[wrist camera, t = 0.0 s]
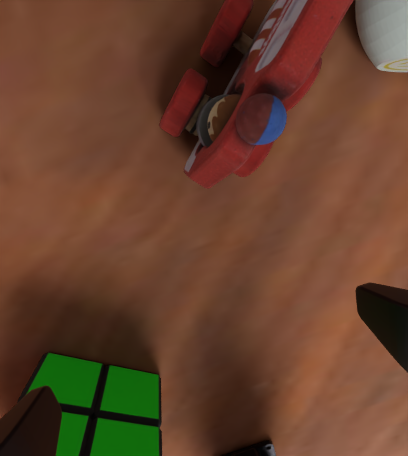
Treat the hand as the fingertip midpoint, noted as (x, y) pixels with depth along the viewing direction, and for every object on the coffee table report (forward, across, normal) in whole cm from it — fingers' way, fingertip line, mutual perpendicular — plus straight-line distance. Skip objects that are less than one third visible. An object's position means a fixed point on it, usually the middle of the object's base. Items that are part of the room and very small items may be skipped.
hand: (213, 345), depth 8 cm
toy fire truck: (+15, -6, -8) cm, 18 cm away
